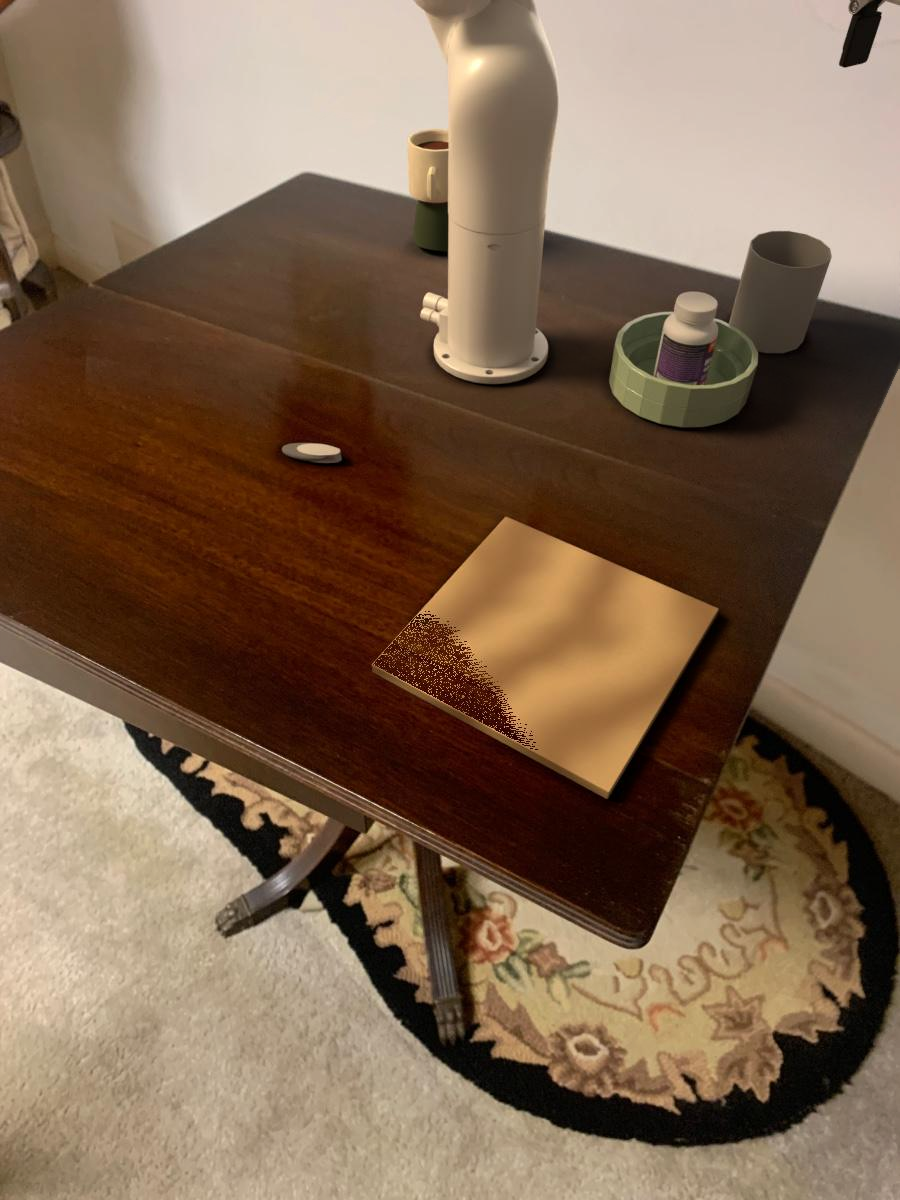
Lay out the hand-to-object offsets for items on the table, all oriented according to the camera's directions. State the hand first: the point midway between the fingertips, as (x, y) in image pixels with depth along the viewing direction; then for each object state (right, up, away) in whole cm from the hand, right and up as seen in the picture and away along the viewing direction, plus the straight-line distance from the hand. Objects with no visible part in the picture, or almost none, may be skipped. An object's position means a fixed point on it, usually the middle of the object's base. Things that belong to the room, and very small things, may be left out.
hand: (895, 80), depth 78 cm
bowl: (-16, -24, +15) cm, 32 cm away
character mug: (-41, 0, +37) cm, 55 cm away
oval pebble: (-53, -32, +7) cm, 62 cm away
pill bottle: (-16, -24, +15) cm, 32 cm away
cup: (-3, -16, +23) cm, 28 cm away
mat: (-32, -50, -9) cm, 59 cm away
